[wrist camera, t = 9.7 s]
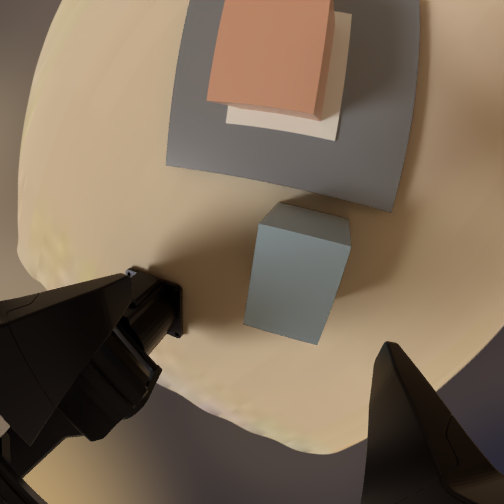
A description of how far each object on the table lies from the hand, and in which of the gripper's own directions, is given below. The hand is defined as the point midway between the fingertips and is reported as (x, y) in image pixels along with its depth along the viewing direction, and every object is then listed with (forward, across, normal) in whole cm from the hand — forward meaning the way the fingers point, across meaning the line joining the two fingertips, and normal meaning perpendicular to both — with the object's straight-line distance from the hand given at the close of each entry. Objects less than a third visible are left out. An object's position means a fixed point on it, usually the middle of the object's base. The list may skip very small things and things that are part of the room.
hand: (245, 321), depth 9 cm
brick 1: (+10, +2, -10) cm, 15 cm away
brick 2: (+12, -1, +3) cm, 12 cm away
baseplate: (+12, +2, -10) cm, 16 cm away
